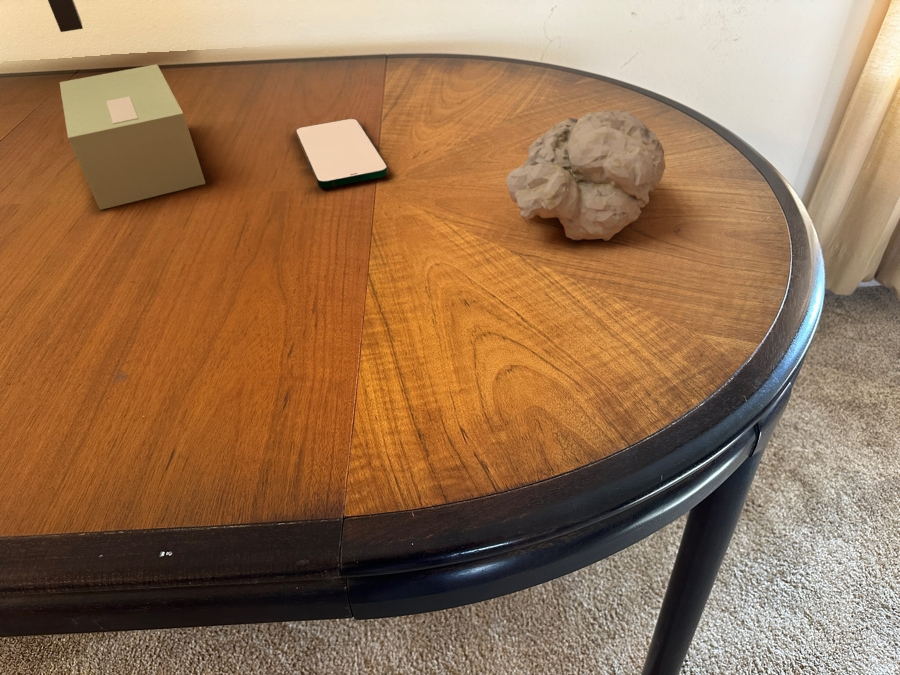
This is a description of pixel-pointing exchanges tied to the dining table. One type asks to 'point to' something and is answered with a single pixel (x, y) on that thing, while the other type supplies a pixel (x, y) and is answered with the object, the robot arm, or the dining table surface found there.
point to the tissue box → (129, 136)
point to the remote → (66, 15)
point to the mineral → (590, 174)
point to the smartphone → (340, 153)
